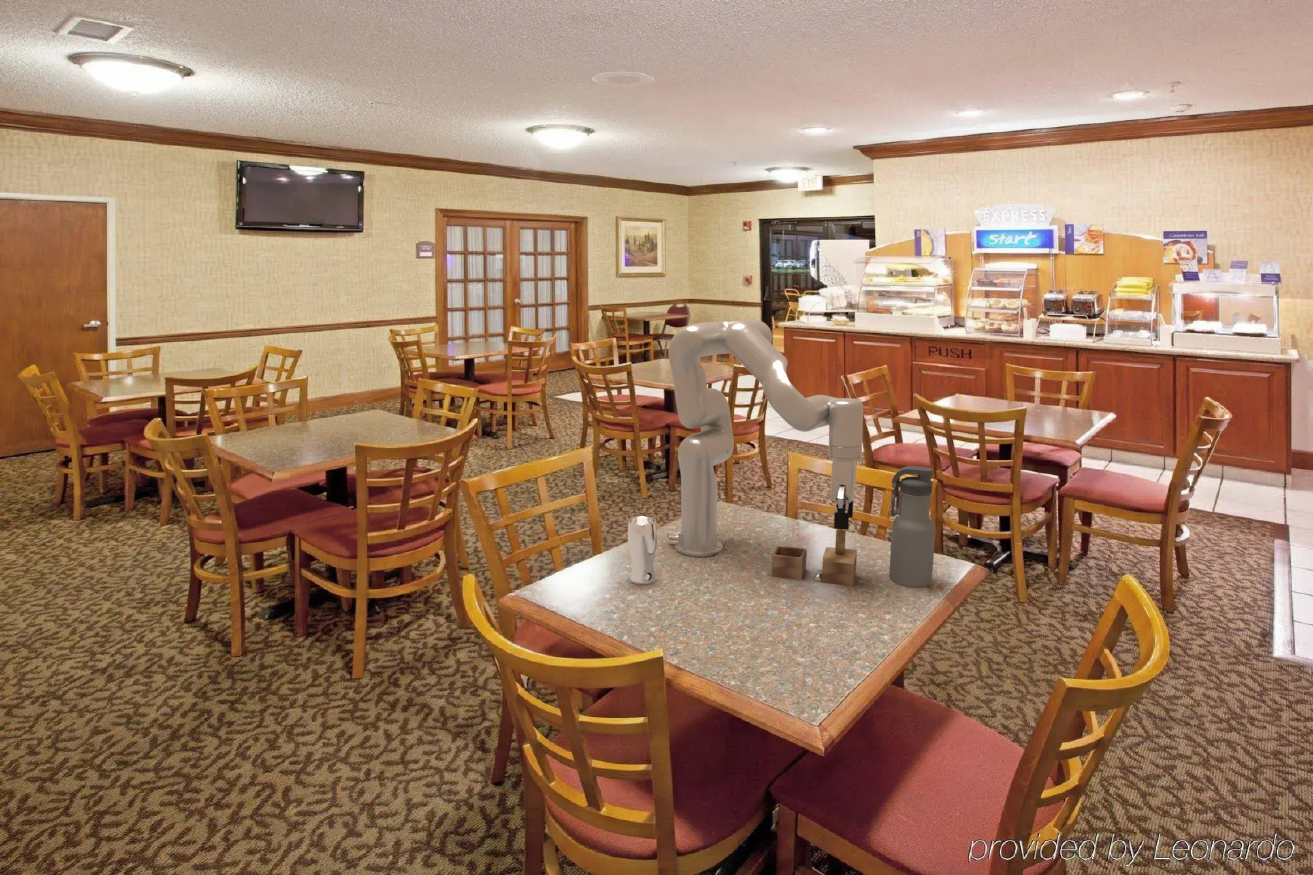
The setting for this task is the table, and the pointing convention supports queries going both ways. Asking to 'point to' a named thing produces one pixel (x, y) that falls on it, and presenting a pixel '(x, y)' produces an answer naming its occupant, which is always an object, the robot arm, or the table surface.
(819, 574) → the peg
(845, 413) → the robot arm
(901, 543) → the water bottle
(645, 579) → the beer glass
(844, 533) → the lid
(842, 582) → the brown square open-topped box
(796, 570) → the brown open box
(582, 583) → the table surface
